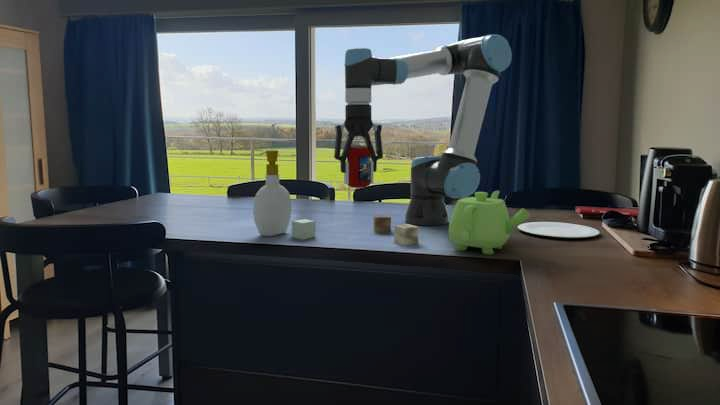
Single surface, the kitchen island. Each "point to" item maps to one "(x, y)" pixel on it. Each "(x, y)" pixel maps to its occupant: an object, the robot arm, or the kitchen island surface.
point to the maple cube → (406, 234)
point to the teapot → (483, 222)
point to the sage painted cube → (303, 229)
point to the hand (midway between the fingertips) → (358, 183)
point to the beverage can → (359, 166)
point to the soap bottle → (272, 201)
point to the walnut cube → (382, 223)
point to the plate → (558, 230)
